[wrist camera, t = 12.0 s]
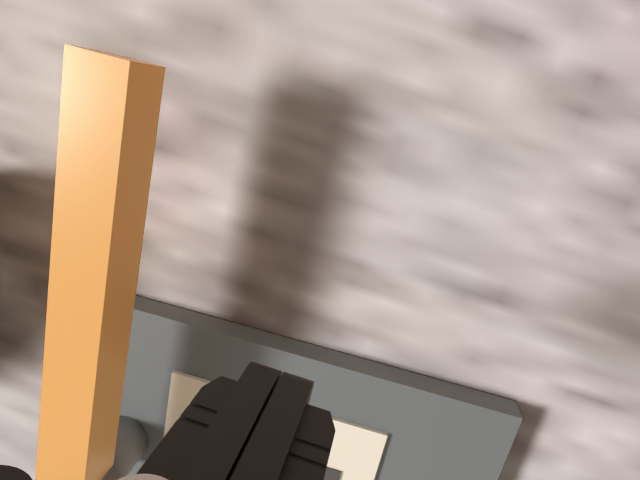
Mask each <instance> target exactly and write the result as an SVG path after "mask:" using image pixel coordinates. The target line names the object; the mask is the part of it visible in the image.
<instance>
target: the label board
mask: <svg viewBox="0 0 640 480" xmlns="http://www.w3.org/2000/svg"><path fill="white" fill-rule="evenodd" d="M251 361H252V362H256V363H259V364H262V365H265V366H268V367H271V368H274V369H277V370H280V371H282V373H283V372H287V373H290V374H293V375H296V376H299V377H303V378H306V379H309V380H312V381H314V386H313V390H312V394H311V397H310V401H309V405H312V406H315V407H318V408H321V409H324V410H327V411H330V412H331V416H332V420H333V423H334V427H335V430H336V431H335V435H334V439H333V443H332V447H331V451H330V455H329V459H328V464H327V467H326V472H325V476H324V480H498V478H499V475H500V473H501V471H502V468H503V466H504V463H505V461H506V458H507V456H508V454H509V451H510V449H511V446H512V444H513V441H514V439H515V437H516V434H517V432H518V429H519V427H520V424H521V422H522V420H523V418H522V415H521V413H520V410H519V408H518V405H517V402H516V401H514V400H510V399H507V398H503V397H500V396H496V395H492V394H489V393H485V392H482V391H478V390H474V389H471V388H467V387H464V386H460V385H456V384H453V383H449V382H446V381H442V380H438V379H435V378H431V377H428V376H424V375H420V374H417V373H413V372H410V371H406V370H403V369H399V368H395V367H392V366H388V365H385V364H381V363H377V362H374V361H370V360H367V359H363V358H359V357H356V356H352V355H349V354H345V353H341V352H338V351H334V350H331V349H327V348H323V347H320V346H316V345H313V344H309V343H306V342H302V341H298V340H295V339H291V338H288V337H284V336H280V335H277V334H273V333H270V332H266V331H262V330H259V329H255V328H252V327H248V326H244V325H241V324H237V323H234V322H230V321H226V320H223V319H219V318H216V317H212V316H209V315H205V314H201V313H198V312H194V311H191V310H187V309H183V308H180V307H176V306H173V305H169V304H165V303H162V302H158V301H155V300H151V299H147V298H144V297H140V296H137V295H135V303H134V310H133V318H132V325H131V333H130V341H129V348H128V356H127V364H126V371H125V379H124V387H123V394H122V402H121V409H120V417H119V425H118V432H117V440H116V448H115V455H114V463H113V465H114V467H115V468H116V469H117V471H118V472H119V474H120V476H121V478H122V477H125V476H129V475H133V474H136V473H137V472H138V471H139V469H140V468H141V467H142V465H143V464H144V463H145V461H146V460H147V459H148V458H149V456H150V455H151V454H152V452H153V451H154V450H155V448H156V447H157V446H158V444H159V443H160V442H161V440H162V439H163V438H164V436H165V435H166V434H167V432H168V431H169V430H170V428H171V427H172V426H173V425H174V423H175V422H176V421H177V419H179V418H180V415H181V414H182V413H183V411H184V410H185V409H186V407H187V406H188V405H190V402H191V401H192V399H193V398H194V397H195V396H196V394H197V393H198V392H199V390H200V389H201V388H202V386H204V385H206V384H208V383H209V382H211V381H213V380H215V379H216V378H218V377H220V376H223V377H226V378H230V379H233V380H236V381H238V380H239V378H240V377H241V375H242V373H243V372H244V370H245V369H246V367H247V366H248V364H249V363H250V362H251Z"/></svg>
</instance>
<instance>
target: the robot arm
mask: <svg viewBox="0 0 640 480" xmlns="http://www.w3.org/2000/svg"><path fill="white" fill-rule="evenodd" d="M313 386H314V381H312V380H309V379H306V378H303V377H299V376H296V375H293V374H290V373H287V372H283V373H282V371H280V370H277V369H274V368H271V367H268V366H265V365H262V364H259V363H256V362H252V361H251V362H250V363H249V364H248V366H247V367H246V369H245V370H244V372H243V373H242V375H241V377H240V378H239V380H238V381H236V380H233V379H230V378H226V377H223V376H220V377H218V378H216V379H215V380H213V381H211V382H209V383H208V384H206V385H204V386H202V388H201V389H200V390H199V392H198V393H197V394H196V396H195V397H194V398H193V399H192V401H191V402H190V405H188V406H187V407H186V409H185V410H184V411H183V413H182V414H181V415H180V418H179V419H177V421H176V422H175V423H174V425H173V426H172V427H171V428H170V430H169V431H168V432H167V434H166V435H165V436H164V438H163V439H162V440H161V442H160V443H159V444H158V446H157V447H156V448H155V450H154V451H153V452H152V454H151V455H150V456H149V458H148V459H147V460H146V461H145V463H144V464H143V465H142V467H141V468H140V469H139V471H138V472H137V473H136V474H133V475H129V476H125V477H122V478H120V479H117V480H324V476H325V472H326V467H327V464H328V459H329V455H330V451H331V447H332V443H333V439H334V435H335V431H336V430H335V427H334V423H333V420H332V416H331V412H330V411H327V410H324V409H321V408H318V407H315V406H312V405H309V401H310V397H311V394H312V390H313ZM0 480H32V478H31V477H30V476H29V475H28V474H27V473H26V472H24V471H23V470H21V469H18V468H16V467H12V466H6V465H0Z"/></svg>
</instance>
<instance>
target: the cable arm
mask: <svg viewBox="0 0 640 480" xmlns="http://www.w3.org/2000/svg"><path fill="white" fill-rule="evenodd" d="M164 74H165V67H162V66H158V65H154V64H150V63H146V62H143V61H139V60H135V59H131V58H127V57H123V56H120V55H116V54H112V53H108V52H103V51H98V50H93V49H88V48H83V47H78V46H73V45H68V44H64V58H63V73H62V88H61V103H60V118H59V133H58V148H57V163H56V178H55V193H54V209H53V224H52V239H51V254H50V269H49V284H48V299H47V314H46V329H45V344H44V360H43V375H42V390H41V405H40V420H39V435H38V450H37V465H36V480H117V479H120V478H121V476H120V474H119V472H118V471H117V469H116V468H115V467H114V465H113V463H114V455H115V448H116V440H117V432H118V425H119V417H120V409H121V402H122V394H123V387H124V379H125V371H126V364H127V356H128V348H129V341H130V333H131V325H132V318H133V310H134V303H135V295H136V287H137V280H138V272H139V264H140V257H141V249H142V241H143V234H144V226H145V219H146V211H147V203H148V196H149V188H150V180H151V173H152V165H153V157H154V150H155V142H156V135H157V127H158V119H159V112H160V104H161V96H162V89H163V81H164Z"/></svg>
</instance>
